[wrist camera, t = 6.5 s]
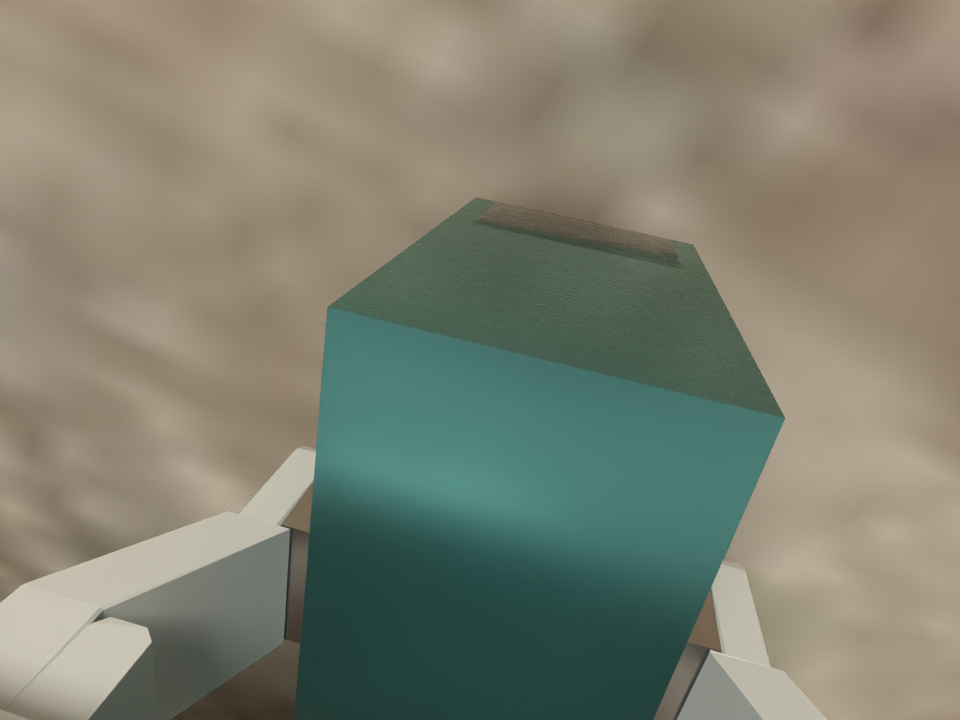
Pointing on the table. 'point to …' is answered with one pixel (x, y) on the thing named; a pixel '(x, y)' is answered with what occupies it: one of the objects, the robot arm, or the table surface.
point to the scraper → (523, 473)
